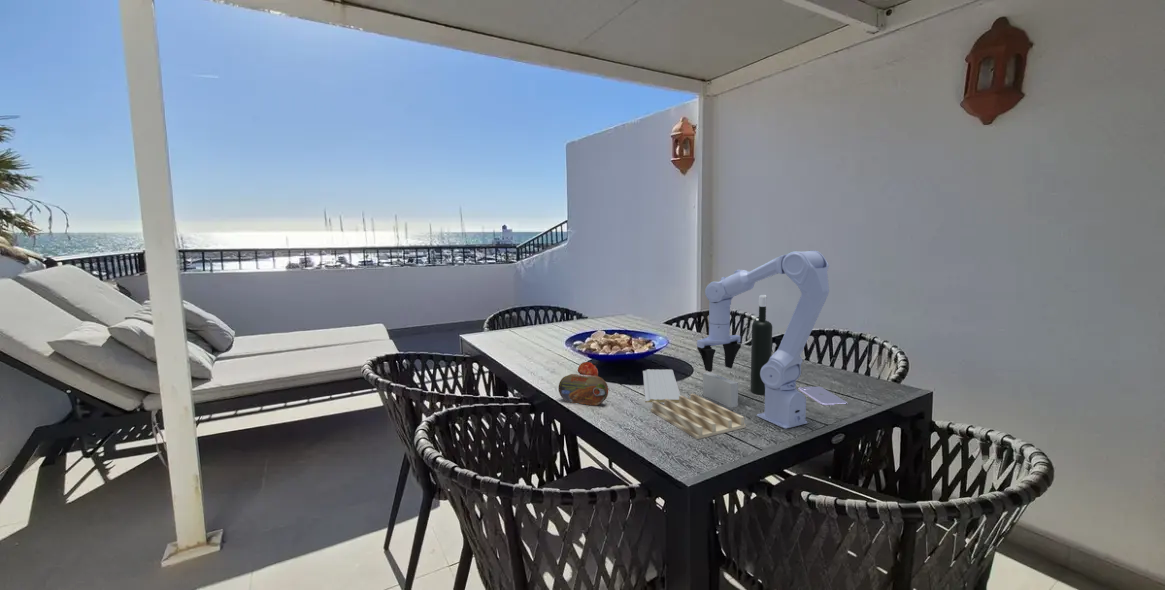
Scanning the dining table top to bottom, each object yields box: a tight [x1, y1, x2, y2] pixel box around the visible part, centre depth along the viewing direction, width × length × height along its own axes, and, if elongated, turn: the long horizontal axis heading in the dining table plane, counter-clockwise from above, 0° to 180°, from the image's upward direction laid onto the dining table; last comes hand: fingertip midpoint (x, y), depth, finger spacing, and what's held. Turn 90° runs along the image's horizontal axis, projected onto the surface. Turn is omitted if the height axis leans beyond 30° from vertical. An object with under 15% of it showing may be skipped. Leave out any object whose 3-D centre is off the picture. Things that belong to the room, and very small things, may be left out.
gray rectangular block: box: [702, 371, 739, 409], centre depth 132 cm, size 12×2×7 cm, turn 24°
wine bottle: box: [749, 294, 773, 396], centre depth 137 cm, size 6×6×30 cm
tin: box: [558, 373, 609, 407], centre depth 132 cm, size 15×3×8 cm, turn 68°
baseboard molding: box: [642, 365, 682, 403], centre depth 147 cm, size 31×3×12 cm
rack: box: [650, 393, 747, 440], centre depth 119 cm, size 20×15×3 cm
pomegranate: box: [577, 361, 599, 377], centre depth 152 cm, size 7×7×10 cm
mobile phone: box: [797, 386, 848, 406], centre depth 134 cm, size 8×1×15 cm
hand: (718, 369), depth 131 cm, fingers open, 7 cm apart
